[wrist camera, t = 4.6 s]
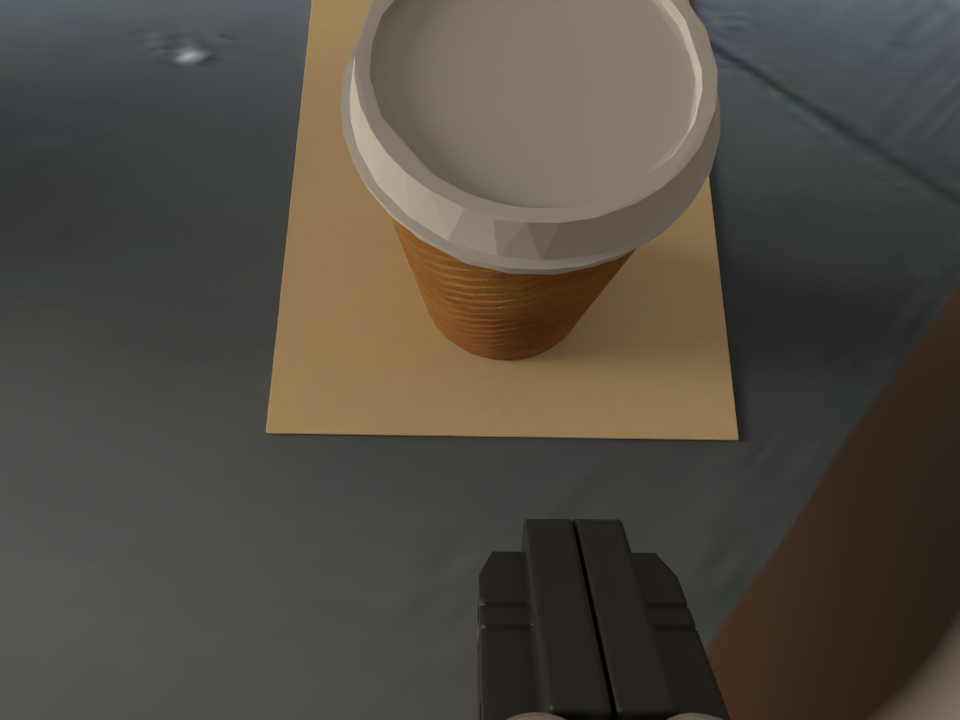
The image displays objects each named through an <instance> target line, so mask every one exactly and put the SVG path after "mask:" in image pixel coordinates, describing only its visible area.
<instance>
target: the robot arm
mask: <svg viewBox="0 0 960 720" xmlns="http://www.w3.org/2000/svg"><path fill="white" fill-rule="evenodd" d="M477 686H478V720H731V719H730V717H729V714H728V712H727V709H726V706H725V703H724V701H723V698H722V696H721V693H720V690H719V688H718V685H717V682H716V679H715V677H714V674H713V671H712V669H711V666H710V664H709V661H708V658H707V655H706V653H705V650H704V647H703V645H702V642H701V639H700V637H699V634H698V631H696V630H695V623H694V620H693V618H692V615H691V612H690V610H689V608H687V602H686V599H685V596H684V594H683V591H682V588H681V586H680V583H679V580H678V578H677V576H676V575H675V574H674V573H673V572H672V570H671V569H670V568H669V567H668V566H667V565H666V564H665V563H664V562H663V561H662V560H661V559H660V558H659V557H658V556H657V555H656V554H655V553H631V550H630V547H629V544H628V541H627V537H626V534H625V531H624V527H623V525H622V522H621V521H620V520H605V519H573V521H571V519H525V520H524V525H523V538H522V552H492V553H491V555H490V557H489V558H488V560H487V562H486V564H485V566H484V567H483V569H482V571H481V573H480V574H479V600H478V629H477Z"/></svg>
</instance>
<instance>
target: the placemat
mask: <svg viewBox="0 0 960 720" xmlns="http://www.w3.org/2000/svg"><path fill="white" fill-rule="evenodd" d="M373 1H374V0H312V5H311V15H310V24H309V34H308V43H307V52H306V62H305V71H304V81H303V90H302V99H301V109H300V118H299V127H298V137H297V146H296V156H295V165H294V174H293V184H292V193H291V203H290V212H289V221H288V231H287V240H286V250H285V259H284V268H283V278H282V287H281V297H280V306H279V315H278V325H277V334H276V344H275V353H274V362H273V372H272V381H271V391H270V400H269V409H268V419H267V428H266V433H267V434H334V435H401V436H468V437H535V438H603V439H670V440H737V441H738V440H739V438H738V430H737V421H736V412H735V403H734V394H733V385H732V376H731V368H730V359H729V350H728V341H727V332H726V323H725V315H724V306H723V297H722V288H721V279H720V270H719V261H718V253H717V244H716V235H715V226H714V217H713V208H712V200H711V191H710V182H709V176H708V177H707V179H706V181H705V182H704V184H703V186H702V187H701V189H700V191H699V193H698V194H697V196H696V198H695V199H694V201H693V202H692V203H691V204H690V206H689V207H688V208H687V209H686V211H685V212H684V213H683V214H682V215H681V216H680V217H679V218H678V219H677V220H676V221H675V222H674V223H672V224H671V225H670V226H669V227H668V228H667V229H666V230H665V231H664V232H663V233H662V234H661V235H659V236H657V237H655V238H654V239H652V240H650V241H648V242H647V243H645V244H643V245H641V246H640V247H638V248H637V249H636V250H635V251H634V252H633V254H632V255H631V256H630V257H629V259H628V260H627V261H626V262H625V264H624V265H623V266H622V267H621V269H620V270H619V271H618V272H617V273H616V275H615V276H614V277H613V279H612V280H611V281H610V282H609V283H608V284H607V286H606V287H605V288H604V289H603V291H602V292H601V293H600V295H599V296H598V297H597V299H596V300H595V301H594V302H593V303H592V304H591V306H590V307H589V308H588V309H587V310H586V312H585V313H584V314H583V315H582V317H581V318H580V319H579V320H578V321H577V323H576V324H575V326H574V327H573V328H572V330H571V331H570V332H569V333H568V335H567V336H566V337H565V338H564V339H563V340H561V341H560V342H559V343H558V344H557V345H555V346H554V347H552V348H551V349H549V350H547V351H545V352H543V353H541V354H539V355H536V356H532V357H529V358H526V359H520V360H511V361H510V360H493V359H489V358H484V357H480V356H476V355H473V354H471V353H469V352H467V351H465V350H463V349H462V348H460V347H459V346H457V345H456V344H454V343H453V342H451V341H450V340H449V339H447V338H446V337H445V336H444V334H443V333H442V332H441V331H440V330H439V329H438V328H437V327H436V325H435V323H434V322H433V320H432V318H431V317H430V315H429V313H428V310H427V307H426V304H425V302H424V299H423V296H422V294H421V291H420V289H419V287H418V284H417V281H416V279H415V276H414V274H413V272H412V269H411V267H410V265H409V262H408V259H407V257H406V254H405V251H404V249H403V247H402V243H401V242H400V240H399V237H398V234H397V232H396V230H395V226H394V224H393V222H392V220H391V217H390V214H389V213H388V212H387V211H386V210H385V208H384V207H383V206H382V205H381V204H380V203H379V201H378V200H377V199H376V198H375V197H374V195H373V194H372V193H371V192H370V191H369V190H368V188H367V187H366V185H365V183H364V181H363V180H362V178H361V176H360V174H359V172H358V170H357V169H356V167H355V165H354V163H353V160H352V157H351V154H350V152H349V149H348V146H347V143H346V140H345V137H344V134H343V126H342V115H341V105H340V100H341V92H342V84H343V75H344V72H345V69H346V66H347V64H348V61H349V58H350V55H351V53H352V50H353V47H354V45H355V44H356V42H357V41H358V36H359V31H360V28H361V26H362V24H363V22H364V20H365V18H366V16H367V14H368V12H369V10H370V8H371V6H372V4H373ZM687 2H688V3H689V0H687Z"/></svg>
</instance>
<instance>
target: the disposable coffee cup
mask: <svg viewBox="0 0 960 720" xmlns="http://www.w3.org/2000/svg"><path fill="white" fill-rule="evenodd" d="M717 78H718V69H717V66H716V62H715V59H714V55H713V52H712V48H711V45H710V41H709V38H708V34H707V31H706V28H705V27H704V25H703V24H702V22H701V21H700V19H699V18H698V16H697V15H696V13H695V12H694V10H693V9H692V8H691V6H690V5H689V3H688V2H687V0H374V1H373V4H372V6H371V8H370V10H369V12H368V14H367V16H366V18H365V20H364V22H363V24H362V26H361V28H360V31H359V36H358V41H357V42H356V44H355V45H354V47H353V50H352V53H351V55H350V58H349V61H348V64H347V66H346V69H345V72H344V75H343V84H342V92H341V100H340V105H341V115H342V126H343V134H344V137H345V140H346V143H347V146H348V149H349V152H350V154H351V157H352V160H353V163H354V165H355V167H356V169H357V170H358V172H359V174H360V176H361V178H362V180H363V181H364V183H365V185H366V187H367V188H368V190H369V191H370V192H371V193H372V194H373V195H374V197H375V198H376V199H377V200H378V201H379V203H380V204H381V205H382V206H383V207H384V208H385V210H386V211H387V212H388V213H389V214H390V217H391V220H392V222H393V224H394V226H395V230H396V232H397V234H398V237H399V240H400V242H401V243H402V247H403V249H404V251H405V254H406V257H407V259H408V262H409V265H410V267H411V269H412V272H413V274H414V276H415V279H416V281H417V284H418V287H419V289H420V291H421V294H422V296H423V299H424V302H425V304H426V307H427V310H428V313H429V315H430V317H431V318H432V320H433V322H434V323H435V325H436V327H437V328H438V329H439V330H440V331H441V332H442V333H443V334H444V336H445V337H446V338H447V339H449V340H450V341H451V342H453V343H454V344H456V345H457V346H459V347H460V348H462V349H463V350H465V351H467V352H469V353H471V354H473V355H476V356H480V357H484V358H489V359H493V360H510V361H511V360H520V359H526V358H529V357H532V356H536V355H539V354H541V353H543V352H545V351H547V350H549V349H551V348H552V347H554V346H555V345H557V344H558V343H559V342H560V341H561V340H563V339H564V338H565V337H566V336H567V335H568V333H569V332H570V331H571V330H572V328H573V327H574V326H575V324H576V323H577V321H578V320H579V319H580V318H581V317H582V315H583V314H584V313H585V312H586V310H587V309H588V308H589V307H590V306H591V304H592V303H593V302H594V301H595V300H596V299H597V297H598V296H599V295H600V293H601V292H602V291H603V289H604V288H605V287H606V286H607V284H608V283H609V282H610V281H611V280H612V279H613V277H614V276H615V275H616V273H617V272H618V271H619V270H620V269H621V267H622V266H623V265H624V264H625V262H626V261H627V260H628V259H629V257H630V256H631V255H632V254H633V252H634V251H635V250H636V249H637V248H638V247H640V246H641V245H643V244H645V243H647V242H648V241H650V240H652V239H654V238H655V237H657V236H659V235H661V234H662V233H663V232H664V231H665V230H666V229H667V228H668V227H669V226H670V225H671V224H672V223H674V222H675V221H676V220H677V219H678V218H679V217H680V216H681V215H682V214H683V213H684V212H685V211H686V209H687V208H688V207H689V206H690V204H691V203H692V202H693V201H694V199H695V198H696V196H697V194H698V193H699V191H700V189H701V187H702V186H703V184H704V182H705V181H706V179H707V177H708V176H709V174H710V172H711V169H712V165H713V161H714V158H715V154H716V150H717V146H718V143H719V139H720V135H721V127H720V101H719V97H718V93H717Z"/></svg>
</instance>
